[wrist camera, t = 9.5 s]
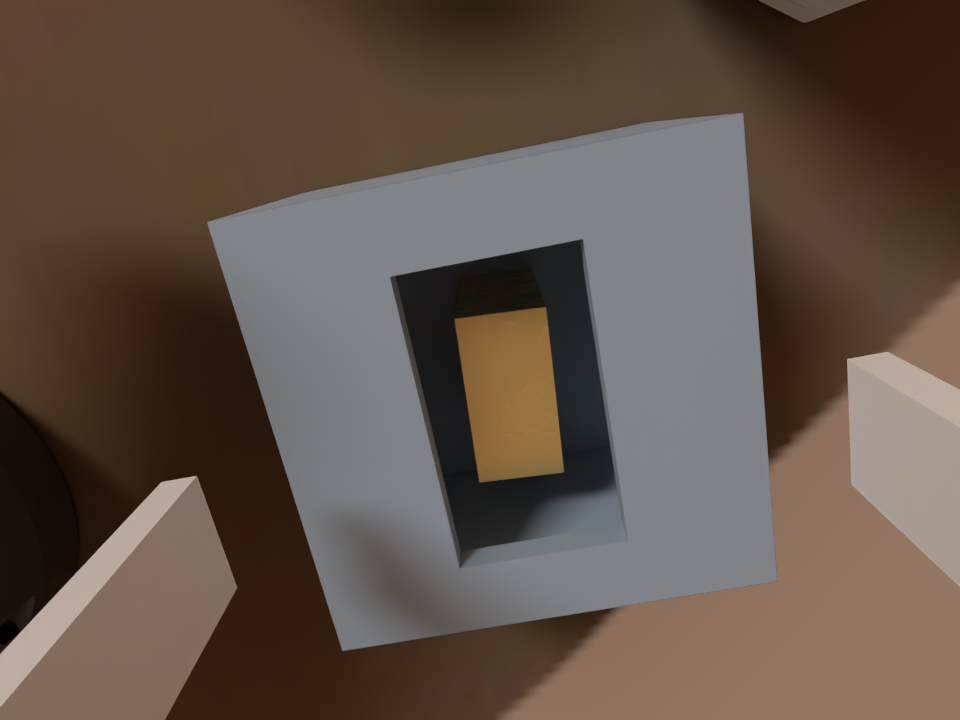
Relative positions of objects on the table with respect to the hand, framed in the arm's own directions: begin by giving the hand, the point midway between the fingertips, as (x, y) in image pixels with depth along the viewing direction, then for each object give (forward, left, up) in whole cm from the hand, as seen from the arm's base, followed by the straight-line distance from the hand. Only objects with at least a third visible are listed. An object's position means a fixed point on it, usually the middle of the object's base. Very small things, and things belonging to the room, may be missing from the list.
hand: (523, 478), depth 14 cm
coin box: (0, 0, -12) cm, 12 cm away
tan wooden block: (0, 0, -12) cm, 12 cm away
